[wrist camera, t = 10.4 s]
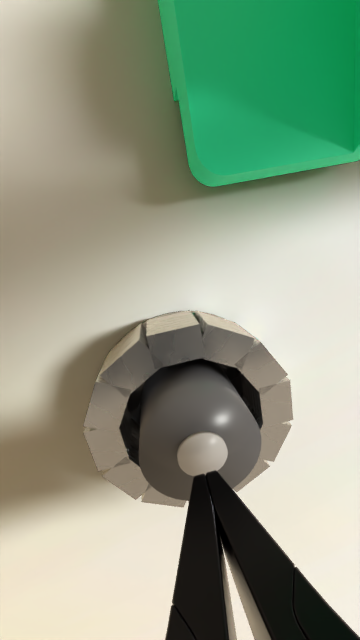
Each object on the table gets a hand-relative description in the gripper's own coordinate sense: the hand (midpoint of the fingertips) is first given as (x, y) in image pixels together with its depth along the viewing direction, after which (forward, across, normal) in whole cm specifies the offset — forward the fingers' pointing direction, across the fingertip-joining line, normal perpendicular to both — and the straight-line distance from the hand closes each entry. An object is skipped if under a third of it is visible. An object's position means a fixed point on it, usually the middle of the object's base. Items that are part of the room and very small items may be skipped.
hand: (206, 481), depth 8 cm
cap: (+5, 0, 0) cm, 5 cm away
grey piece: (+6, 0, 0) cm, 6 cm away
